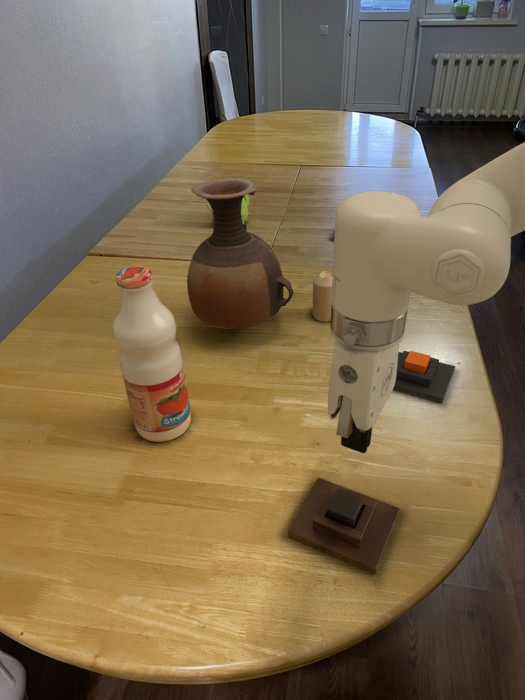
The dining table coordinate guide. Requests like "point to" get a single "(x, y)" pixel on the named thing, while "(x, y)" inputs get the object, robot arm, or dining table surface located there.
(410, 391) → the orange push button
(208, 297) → the vase
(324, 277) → the candle
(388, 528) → the brown flat stepped block
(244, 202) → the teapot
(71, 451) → the dining table surface
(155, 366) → the fruit juice
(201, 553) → the dining table surface
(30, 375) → the dining table surface
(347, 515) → the rocker switch
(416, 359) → the enter key
